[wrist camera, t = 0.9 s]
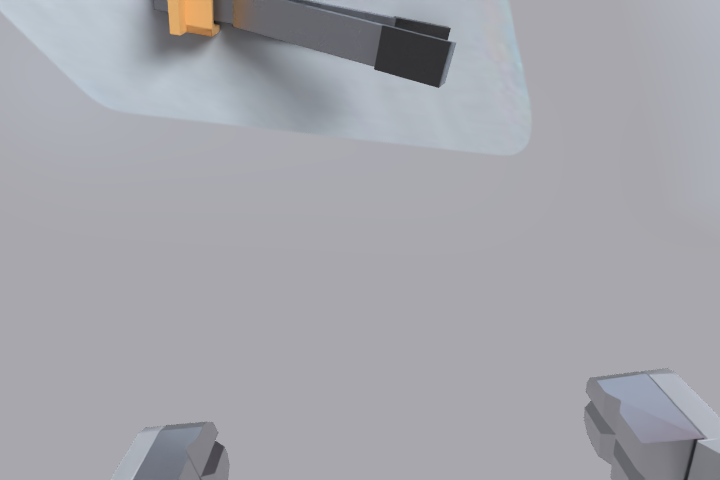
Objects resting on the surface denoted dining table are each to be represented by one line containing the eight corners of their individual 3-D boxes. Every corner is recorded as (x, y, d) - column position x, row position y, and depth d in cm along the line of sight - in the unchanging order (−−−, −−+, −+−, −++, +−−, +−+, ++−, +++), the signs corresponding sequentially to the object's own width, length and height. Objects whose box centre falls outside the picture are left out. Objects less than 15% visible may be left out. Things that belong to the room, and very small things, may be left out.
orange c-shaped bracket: (187, 25, 38) (170, 33, 34) (183, -38, 36) (164, -38, 31) (219, 31, 39) (207, 40, 34) (218, -30, 36) (205, -29, 32)
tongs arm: (241, 27, 38) (229, 27, 36) (241, -13, 36) (228, -14, 34) (444, 84, 32) (438, 87, 31) (456, 41, 30) (451, 42, 29)
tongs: (158, 9, 38) (154, 10, 37) (155, -32, 36) (150, -31, 35) (438, 60, 42) (441, 62, 41) (447, 26, 40) (450, 28, 39)
